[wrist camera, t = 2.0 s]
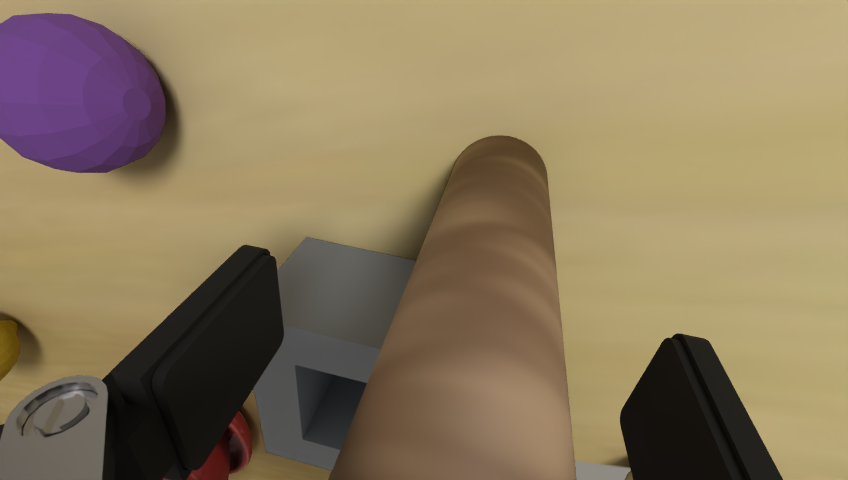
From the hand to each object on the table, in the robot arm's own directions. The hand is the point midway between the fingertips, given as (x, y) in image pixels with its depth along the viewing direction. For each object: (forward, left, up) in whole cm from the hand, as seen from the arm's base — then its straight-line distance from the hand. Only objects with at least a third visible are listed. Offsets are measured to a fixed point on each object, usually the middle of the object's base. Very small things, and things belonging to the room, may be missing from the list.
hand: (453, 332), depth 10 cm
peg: (-1, 0, -9) cm, 9 cm away
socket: (+3, +10, -9) cm, 14 cm away
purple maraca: (+24, -1, -10) cm, 26 cm away
